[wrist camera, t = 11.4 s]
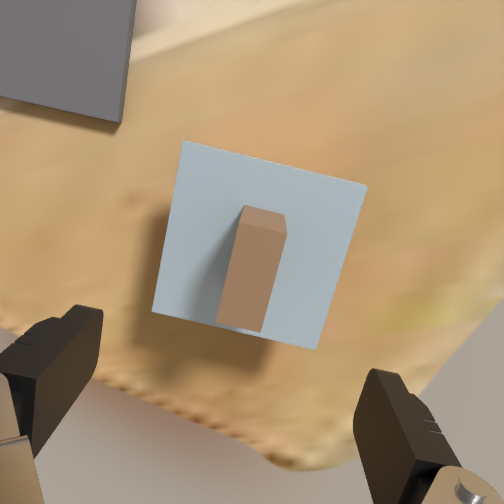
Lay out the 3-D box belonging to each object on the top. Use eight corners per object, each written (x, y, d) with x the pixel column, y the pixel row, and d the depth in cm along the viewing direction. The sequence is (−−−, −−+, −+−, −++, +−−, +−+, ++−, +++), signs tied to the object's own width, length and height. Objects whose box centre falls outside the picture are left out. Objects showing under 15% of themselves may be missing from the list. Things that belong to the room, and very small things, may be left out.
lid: (155, 304, 26) (126, 349, 20) (186, 140, 23) (161, 143, 18) (314, 341, 26) (325, 395, 21) (363, 184, 23) (391, 200, 18)
